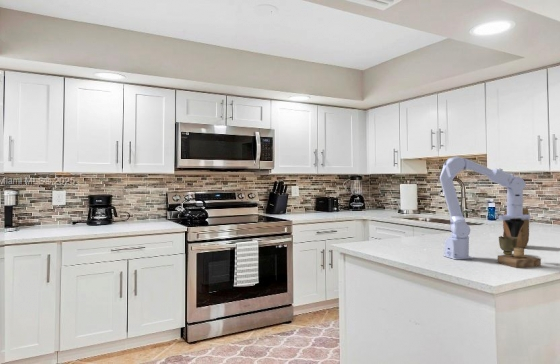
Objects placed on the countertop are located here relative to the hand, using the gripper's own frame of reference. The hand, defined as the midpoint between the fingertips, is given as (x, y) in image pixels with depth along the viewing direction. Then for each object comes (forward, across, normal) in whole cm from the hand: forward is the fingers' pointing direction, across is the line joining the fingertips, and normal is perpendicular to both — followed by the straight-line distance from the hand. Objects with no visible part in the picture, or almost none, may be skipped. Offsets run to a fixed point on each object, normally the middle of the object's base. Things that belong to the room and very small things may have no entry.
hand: (514, 236), depth 160 cm
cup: (+10, +7, +10) cm, 16 cm away
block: (+10, +27, +25) cm, 38 cm away
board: (+10, -5, -7) cm, 13 cm away
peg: (+10, -5, -7) cm, 13 cm away
